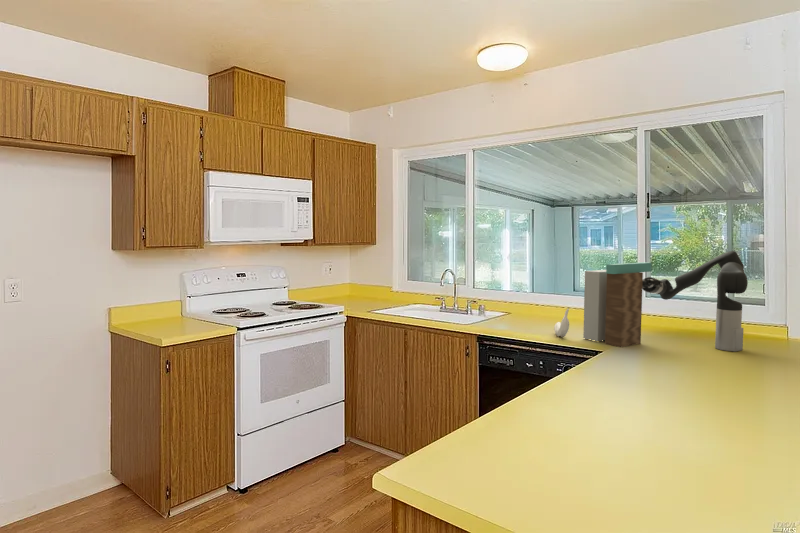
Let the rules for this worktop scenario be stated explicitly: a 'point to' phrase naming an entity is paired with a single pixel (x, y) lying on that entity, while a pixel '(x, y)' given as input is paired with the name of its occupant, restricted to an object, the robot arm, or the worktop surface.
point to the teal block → (628, 268)
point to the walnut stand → (623, 309)
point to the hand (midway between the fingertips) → (638, 281)
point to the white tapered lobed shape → (562, 326)
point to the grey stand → (595, 305)
